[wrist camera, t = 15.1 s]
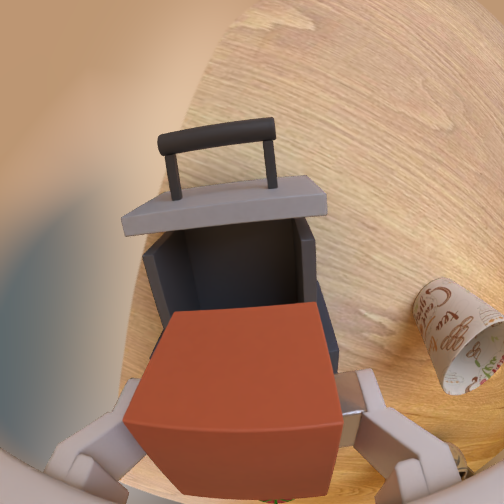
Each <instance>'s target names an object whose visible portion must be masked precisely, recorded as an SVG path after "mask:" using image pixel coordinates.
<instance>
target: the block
mask: <svg viewBox="0 0 504 504" xmlns="http://www.w3.org/2000/svg"><path fill="white" fill-rule="evenodd" d="M122 421H123V423H124V425H125V426H126V427H127V429H128V430H129V431H130V433H131V434H132V436H133V437H134V438H135V440H136V441H137V442H138V443H139V445H140V446H141V447H142V449H143V450H144V451H145V452H146V454H147V455H148V456H149V457H150V459H151V460H152V461H153V462H154V463H155V465H156V466H157V467H158V468H159V469H160V470H161V471H162V473H163V474H164V475H165V476H166V477H167V478H168V479H169V480H170V481H171V483H172V484H173V485H174V486H175V487H176V488H177V489H178V490H179V491H180V492H181V493H182V494H184V495H191V496H199V497H208V498H220V499H238V500H278V499H296V498H308V497H317V496H325V495H327V492H328V489H329V485H330V481H331V478H332V474H333V470H334V466H335V462H336V457H337V453H338V449H339V444H340V439H341V434H342V430H343V424H344V420H343V415H342V410H341V405H340V400H339V396H338V391H337V386H336V382H335V377H334V373H333V368H332V364H331V360H330V355H329V351H328V347H327V343H326V339H325V334H324V330H323V326H322V322H321V318H320V314H319V310H318V307H317V303H316V302H306V303H296V304H285V305H274V306H261V307H248V308H233V309H217V310H198V311H176V312H174V313H173V315H172V317H171V319H170V321H169V323H168V325H167V327H166V329H165V331H164V333H163V335H162V337H161V339H160V341H159V343H158V345H157V347H156V349H155V351H154V353H153V355H152V357H151V359H150V361H149V363H148V365H147V367H146V369H145V372H144V374H143V376H142V378H141V380H140V382H139V384H138V386H137V388H136V390H135V393H134V395H133V397H132V399H131V401H130V403H129V406H128V408H127V410H126V412H125V414H124V416H123V419H122Z"/></svg>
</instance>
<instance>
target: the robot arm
mask: <svg viewBox="0 0 504 504" xmlns="http://www.w3.org/2000/svg"><path fill="white" fill-rule="evenodd" d="M334 377H335V382H336V386H337V391H338V396H339V400H340V405H341V410H342V415H343V420H344V424H343V430H342V434H341V439H340V444H339V448H341V447H348V446H353V447H354V448H355V449H356V450H357V451H358V452H359V453H360V454H361V455H362V456H363V457H364V458H365V459H366V460H367V461H368V462H369V463H370V464H371V465H372V466H373V467H374V468H375V469H376V470H377V471H378V472H379V473H380V474H381V475H382V476H383V477H384V478H385V479H386V482H385V483H384V484H383V486H382V487H381V489H380V490H379V491H378V493H377V494H376V496H375V503H376V504H504V459H503V460H501V461H499V462H498V463H496V464H494V465H493V466H491V467H489V468H487V469H485V470H483V471H481V472H480V473H478V474H476V475H474V476H472V477H470V478H468V479H466V480H463V481H462V480H461V477H460V475H459V472H458V469H457V466H456V464H455V461H454V458H453V456H452V453H451V451H450V448H449V446H448V444H446V443H445V442H443V441H441V440H440V439H438V438H437V437H435V436H434V435H432V434H431V433H429V432H428V431H426V430H425V429H423V428H422V427H420V426H419V425H417V424H416V423H414V422H413V421H411V420H410V419H408V418H407V417H405V416H404V415H402V414H401V413H399V412H398V411H396V410H395V409H394V408H392V407H388V408H386V405H385V402H384V399H383V397H382V394H381V391H380V388H379V385H378V383H377V380H376V377H375V375H374V372H373V370H372V369H371V368H367V369H361V370H355V371H349V372H342V373H336V374H334ZM140 380H141V379H139V378H130V379H129V380H128V381H127V383H126V385H125V387H124V389H123V391H122V393H121V395H120V397H119V398H118V400H117V403H116V404H115V406H114V408H113V411H112V412H111V413H110V412H107V413H106V414H104V415H103V416H101V417H100V418H98V419H97V420H95V421H93V422H92V423H91V424H89V425H87V426H86V427H84V428H83V429H81V430H80V431H78V432H76V433H75V434H73V435H72V436H70V437H68V438H67V439H65V440H63V441H62V442H60V443H59V444H58V445H57V447H56V448H55V450H54V452H53V454H52V456H51V458H50V460H49V462H48V464H47V466H46V468H45V469H44V472H41V471H39V470H37V469H35V468H34V467H32V466H30V465H28V464H26V463H25V462H23V461H21V460H19V459H18V458H16V457H15V456H13V455H11V454H10V453H8V452H7V451H5V450H3V449H2V448H0V504H126V502H127V498H128V495H129V492H128V490H127V489H126V488H125V487H123V486H122V485H121V484H120V483H119V482H118V481H119V480H120V479H121V478H122V477H123V476H124V475H125V474H126V473H127V472H128V471H129V470H131V469H132V468H133V467H134V466H135V465H136V464H137V463H138V462H139V461H140V460H141V459H142V458H143V457H144V456H145V455H146V452H145V451H144V450H143V449H142V447H141V446H140V445H139V443H138V442H137V441H136V440H135V438H134V437H133V436H132V434H131V433H130V431H129V430H128V429H127V427H126V426H125V425H124V423H123V421H122V419H123V416H124V414H125V412H126V410H127V408H128V406H129V403H130V401H131V399H132V397H133V395H134V393H135V390H136V388H137V386H138V384H139V382H140Z"/></svg>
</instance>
